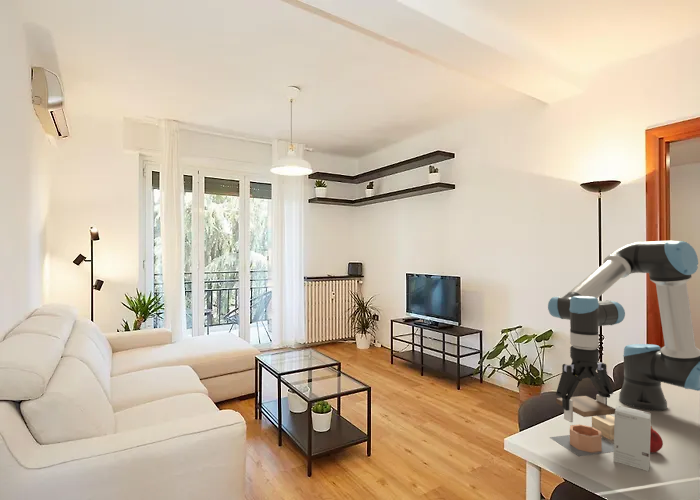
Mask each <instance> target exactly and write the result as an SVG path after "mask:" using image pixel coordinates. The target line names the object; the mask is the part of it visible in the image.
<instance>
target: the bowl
mask: <svg viewBox="0 0 700 500" xmlns="http://www.w3.org/2000/svg"><path fill="white" fill-rule="evenodd" d="M569 435H570V445H572V446H574V447H575V448H577V449H578V450H583V451H587V452H591V453H593V452H601V451H602V438H603V436H602V435H601V431H599V430H597V429H595V428H593V427H592V426H590V425H585V424H580V423H579V424H574V425H573V424H571V425H570V427H569Z"/></svg>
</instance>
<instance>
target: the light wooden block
mask: <svg viewBox="0 0 700 500" xmlns="http://www.w3.org/2000/svg"><path fill="white" fill-rule="evenodd" d="M614 420H615V416H613V415H612V414H610V415H606V419H603V418H600V417H598V416H591V427H593V428H595V429H597V430H599V431H601V436H602V437H604V438H607V440H608V439H609V441H611V440H613V441H614Z"/></svg>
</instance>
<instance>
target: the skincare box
mask: <svg viewBox="0 0 700 500" xmlns="http://www.w3.org/2000/svg"><path fill="white" fill-rule="evenodd" d="M614 417H615V420H614V439H613V444H614V452H613V454H612V455H613V456H612V457H613V460H612V461H613V462H614V463H620V464H623V465H626V466H630V467H634V468H636V469H640V470H644V471H646V472H649V471H650V463H651V462H650V461H651V460H650V459H651V452H650V434H651V426H652V423H651V422H652V413H650V412H647V411H642V410H641V409H640V410H639V409H637V408H636V409H635V408H633V407H632V408H631V407H626V406H622V405H616V406H615V414H614Z"/></svg>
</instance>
